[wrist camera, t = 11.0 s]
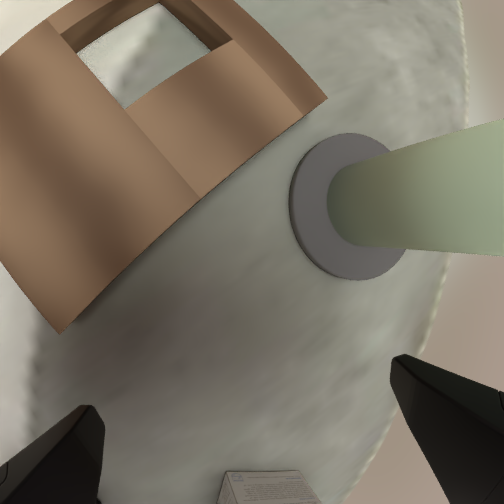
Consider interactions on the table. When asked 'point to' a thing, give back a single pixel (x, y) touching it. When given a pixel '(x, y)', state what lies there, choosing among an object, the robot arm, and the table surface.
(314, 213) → the coaster
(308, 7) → the table surface
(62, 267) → the puzzle board
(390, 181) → the peg
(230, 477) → the light bulb box
